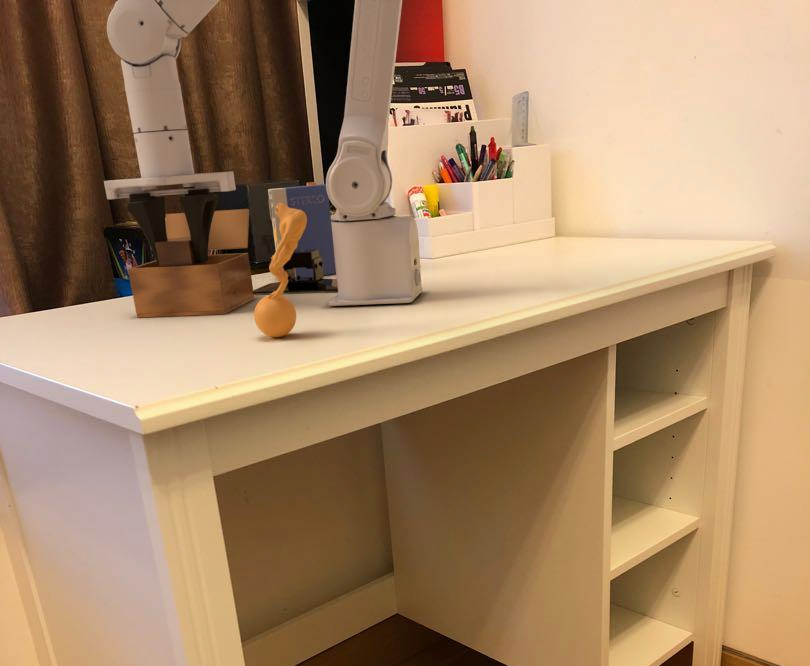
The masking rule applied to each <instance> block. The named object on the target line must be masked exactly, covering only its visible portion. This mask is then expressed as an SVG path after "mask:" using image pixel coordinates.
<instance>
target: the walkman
mask: <svg viewBox="0 0 810 666" xmlns="http://www.w3.org/2000/svg"><path fill="white" fill-rule="evenodd" d="M267 192H268V208H269V216H270V220H271V224H272V232H273V239H274V247H275V251H276V250H277V247H278V245H279V243H280V242H281V240H282V237H281V234H280V229H279V225H280V220H281V219H280V217H279V216H277V215H276V213H275V212H276V211H279V210H277V208H276V206H277V205H278V204H279V203H283V204H284V205H286V206H287V207H289V208H294V209H298V210H302V211H303V212H304V213H305V214H306V217H307V223H306V227H305V229H304V232H303V234H302V236H301V238H300V239H299V241H298V244H297V248H296V249H295V250H303V251H306V250H313V249H318V250H319V257H322V262H323V276H330V275H336V265H335V255H334V245H333V235H332V225H331V221H332V220H331V209H330V206H331V205H330V199H329V197H328V194H327V190H326V184H325V183H324V184H323V183H322V184H321V183H320V184H317V182H316V181H313V182H306V185H300V186H299V185H298V186H289V187H288V186H287V187H278V188H268V189H267ZM281 270H284V269H283V267H281ZM294 270H295V277H297V276H301V277H314V273H313V269H306V267H304V268H295V269H294Z"/></svg>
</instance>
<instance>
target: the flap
mask: <svg viewBox="0 0 810 666" xmlns="http://www.w3.org/2000/svg"><path fill="white" fill-rule="evenodd" d="M249 221H250V209H249V208H240V209H226V210H225V209H224V210H215V212H214V215H213V219H212V223H211V228H210V234H209V243H208V251H217V250H234V249H235V250H236V249H248V247H249V246H248V245H249V225H250V224H249V223H250V222H249ZM165 223H166V233H167V238H168V239H170V238H185V237H191V236H190V231H189V227H188V223H187V220H186V216H185V213H184V212H178V213H165Z"/></svg>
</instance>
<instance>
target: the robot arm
mask: <svg viewBox="0 0 810 666" xmlns="http://www.w3.org/2000/svg"><path fill="white" fill-rule="evenodd" d="M220 1H221V0H116V2H115V3H114V5H113V8H112V9H111V11H110V13H109V15H108V18H107V21H106V34H107V35H106V36H107V39H108V42H109V44H110V46H111V49H112V50H113V51H114V52H115V54H116V55H117V56H118V57H120V58H121V59H120V65H121V70H122V76H123V81H124V90H125V95H126V100H127V106H128V111H129V119H130V123H131V129H132V134H133V139H134V145H135V150H136V156H137V161H138V167H139V172H140V177H136V178H123V179H113V180H112V179H111V180H110V179H109V180H103V184H104V190H105V195H106V199H107V200H118V199H129V201H128V202H125V207H126V210H127V211H128V212H129V214H130V215H131V217H133V219H134V220H135V222H136V223H137V225H138V226H139V228H140V229H141V231H142V233H143V234H144V236H145V238H146V240H147V242H148V244H149V246H150V249H151V251H152V253H153V256H154V258H155V260H156V261H157V263H158V265H159V261H158V256H157V250H156V245H155V242H159V241H162V240H166V239H168V238H167V233H166V196H173V195H182V196H179V201H180V203H181V207H182V210H183V213H185V216H186V220H187V223H188V227H189V231H190V236H191V243H192V250H193V254H194V258H195V262H196V263H203V262H206V261H208V255H209V250H208V243H209V234H210V228H211V223H212V219H213V215H214V212H215V211H216V208H217V206H218V203H219V195H218V194H216V193H217V192H231V191H236V190H237V188H236V181H235V174H234V171H233V170H232V171H217V172H204V173H203V172H202V173H195V169H194V163H193V157H192V150H191V143H190V138H189V132H188V131H189V130H188V126H187V120H186V113H185V106H184V101H183V100H184V99H183V95H182V94H183V93H182V87H181V82H180V79H179V73H178V66H177V58H178V57H179V55H180V51H181V47H182V38H187V37H188V36H189V34H190V33H191V32H192V31H193V30H194V29H195V28H196V27H197V26H198V24H199V23H200V22H201V21H203V19H204V18H206V16H207V15H208V14H209V13H210V12H211V10H212V9H213V8H214V7H216V5H217V4H218V3H219V2H220ZM402 6H403V0H354V10H353V17H352V19H353V20H352V31H351V40H350V51H349V62H348V72H347V81H346V82H347V85H346V93H345V94H346V95H345V104H344V113H343V115H344V116H343V121H342V125H341V128H340V133H339V138H338V147H337V152H336V156H335V158H334V160H333V162H332V163H331V165H330V166H329V168H328V171H327V173H326V177H325V185H326V190H327V194H328V197H329V202H330V203H331V204H332V205H333V206H334V208H335V212H334V213H333V214H330V216H331V226H332V236H333V246H334V256H335V266H336V274H335V275H336V279H337V285H338V292H337V293H338V295H336V296H335V297H334V298H333V297H332V299H330V300H329V301H328V302H327V304H328V306H329V307H337V306H339V307H341V306H361V305H363V306H365V305H386V304H387V305H388V304H389V305H390V304H391V305H392V304H409V303H413V302H414V300H415V299H416V298H417V297H418V296H419V295H420V294H421V293H422V292H423V287H422V273H421V272H422V271H421V258H420V241H419V232H418V231H419V230H418V225H417V220H416V218H415V217H414V216H412V215H403V216H398V215H396V214H397V211H396V208H395V207H393V206H392V205H391V204H390V203H389V202H388V201H387V200H388V198H389V196H390V194H391V191H392V188H393V174H392V170H391V167H390V165H389V161H388V150H389V122H390V111H391V103H392V95H393V85H394V78H395V68H396V60H397V50H398V41H399V32H400V24H401V17H402V16H401V15H402V8H403V7H402ZM172 185H182V186H183V188H177V189H175V188H174V189H164V190H163V189H162V190H161V189H160V190H156V189H158V187H161V186H172ZM193 187H194V188H193ZM214 192H216V193H214ZM185 194H186V195H185ZM183 195H184V196H183Z"/></svg>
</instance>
